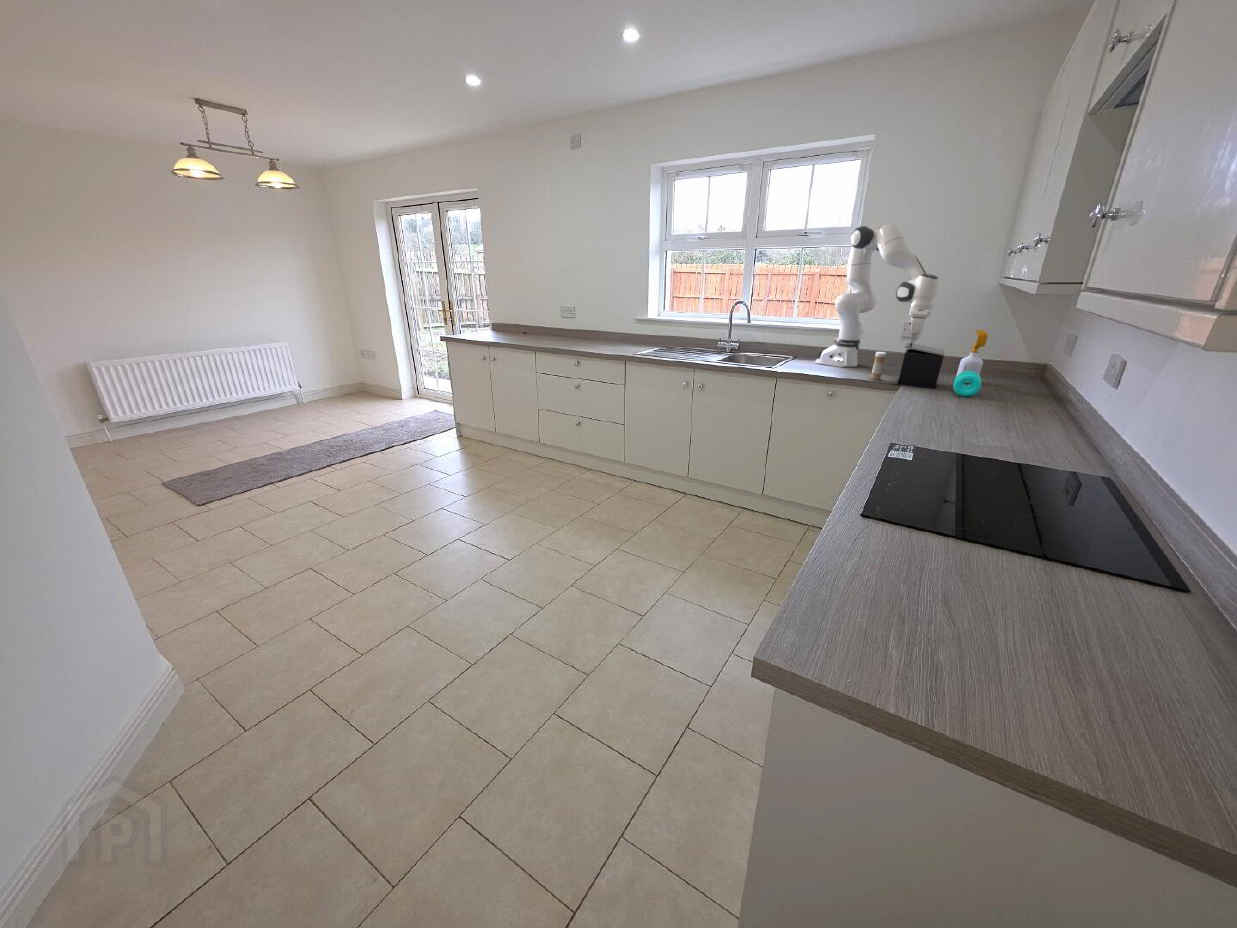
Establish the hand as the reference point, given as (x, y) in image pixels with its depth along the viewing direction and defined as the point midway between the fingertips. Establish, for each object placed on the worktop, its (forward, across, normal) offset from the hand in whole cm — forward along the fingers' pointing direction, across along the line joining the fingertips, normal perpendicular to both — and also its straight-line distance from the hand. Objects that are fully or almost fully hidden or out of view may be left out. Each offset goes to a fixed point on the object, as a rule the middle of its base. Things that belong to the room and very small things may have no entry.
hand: (912, 342), depth 230 cm
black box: (+20, 0, +6) cm, 20 cm away
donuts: (+20, +11, +25) cm, 34 cm away
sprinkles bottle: (+20, 0, -12) cm, 23 cm away
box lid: (+3, 0, +5) cm, 6 cm away
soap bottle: (+20, -19, +27) cm, 38 cm away
